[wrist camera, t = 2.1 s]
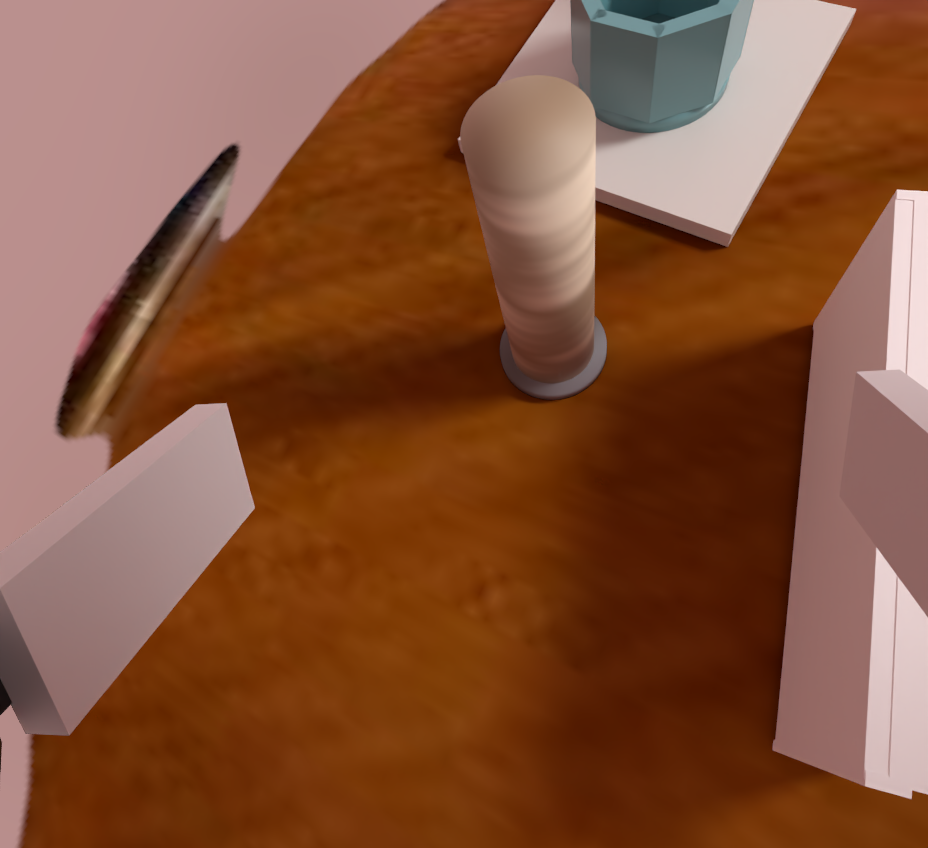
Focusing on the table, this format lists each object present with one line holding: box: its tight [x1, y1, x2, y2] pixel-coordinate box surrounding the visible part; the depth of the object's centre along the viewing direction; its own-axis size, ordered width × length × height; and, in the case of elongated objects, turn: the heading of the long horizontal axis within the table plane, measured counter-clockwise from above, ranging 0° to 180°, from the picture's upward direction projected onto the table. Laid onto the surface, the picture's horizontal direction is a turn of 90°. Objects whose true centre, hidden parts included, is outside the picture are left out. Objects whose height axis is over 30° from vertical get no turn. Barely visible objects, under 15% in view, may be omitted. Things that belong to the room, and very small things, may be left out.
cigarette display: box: [772, 190, 928, 799], centre depth 24 cm, size 20×6×9 cm, turn 166°
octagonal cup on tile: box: [458, 0, 856, 247], centre depth 34 cm, size 16×16×7 cm
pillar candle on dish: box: [460, 75, 607, 400], centre depth 26 cm, size 5×5×15 cm
